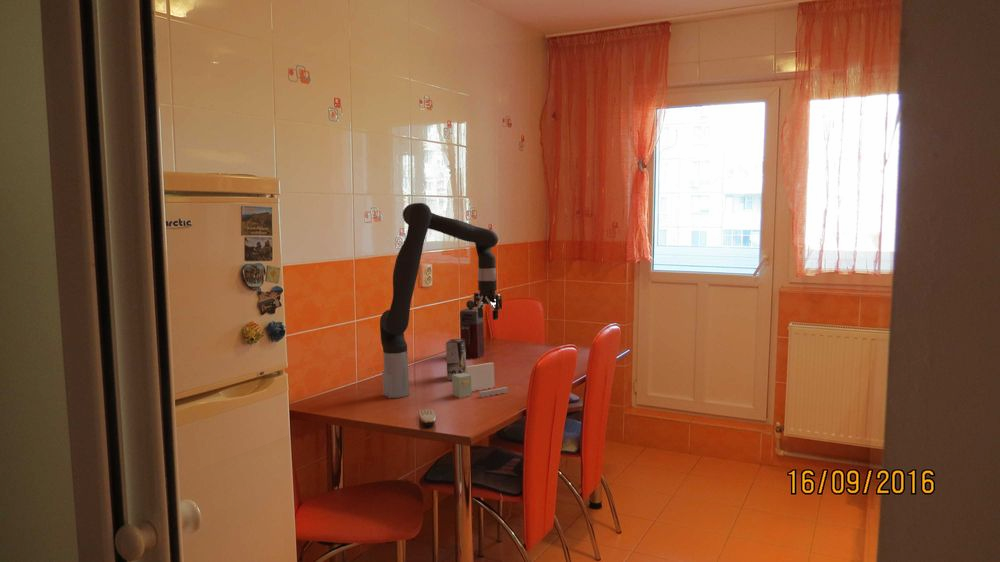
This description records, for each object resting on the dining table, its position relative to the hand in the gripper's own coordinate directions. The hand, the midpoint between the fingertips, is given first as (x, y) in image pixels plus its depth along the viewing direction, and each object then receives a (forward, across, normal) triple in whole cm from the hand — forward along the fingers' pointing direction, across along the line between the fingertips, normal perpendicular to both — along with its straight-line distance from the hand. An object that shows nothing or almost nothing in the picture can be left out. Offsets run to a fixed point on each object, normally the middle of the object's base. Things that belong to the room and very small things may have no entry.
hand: (487, 318), depth 287 cm
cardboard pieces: (+26, +13, -13) cm, 32 cm away
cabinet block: (+26, +8, -22) cm, 36 cm away
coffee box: (+26, -16, -4) cm, 31 cm away
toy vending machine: (+26, -43, +30) cm, 59 cm away
